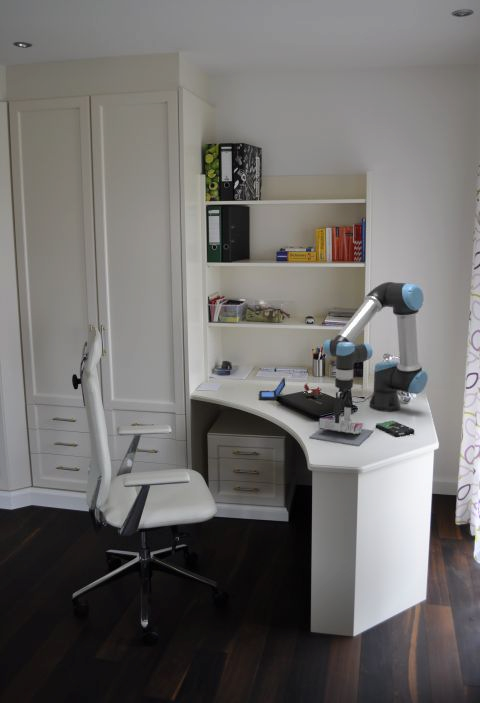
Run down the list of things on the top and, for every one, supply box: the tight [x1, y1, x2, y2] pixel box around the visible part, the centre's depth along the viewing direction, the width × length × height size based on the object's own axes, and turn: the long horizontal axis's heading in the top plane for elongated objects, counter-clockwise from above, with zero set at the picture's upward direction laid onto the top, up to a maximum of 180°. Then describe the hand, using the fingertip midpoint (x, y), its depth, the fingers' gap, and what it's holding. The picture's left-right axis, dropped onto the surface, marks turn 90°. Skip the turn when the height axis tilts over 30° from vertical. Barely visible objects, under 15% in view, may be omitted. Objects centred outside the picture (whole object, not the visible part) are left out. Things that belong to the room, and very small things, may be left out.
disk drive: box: [375, 420, 415, 438], centre depth 301 cm, size 10×3×15 cm
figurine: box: [303, 382, 324, 395], centre depth 355 cm, size 15×12×7 cm
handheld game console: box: [258, 377, 286, 402], centre depth 356 cm, size 16×13×9 cm
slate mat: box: [308, 428, 374, 447], centre depth 295 cm, size 22×22×1 cm
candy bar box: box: [318, 417, 363, 434], centre depth 294 cm, size 11×5×16 cm
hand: (342, 425), depth 294 cm, fingers open, 13 cm apart
